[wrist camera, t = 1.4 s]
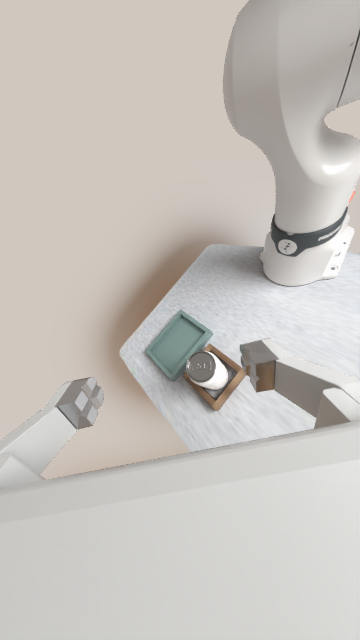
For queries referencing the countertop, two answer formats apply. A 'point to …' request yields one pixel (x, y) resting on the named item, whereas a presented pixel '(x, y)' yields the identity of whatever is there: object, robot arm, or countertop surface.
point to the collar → (229, 389)
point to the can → (206, 370)
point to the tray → (178, 344)
